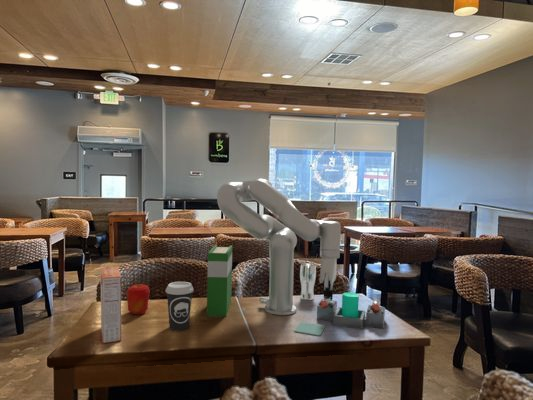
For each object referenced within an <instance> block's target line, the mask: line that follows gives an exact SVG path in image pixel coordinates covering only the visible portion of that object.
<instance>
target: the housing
mask: <svg viewBox="0 0 533 400" xmlns="http://www.w3.org/2000/svg"><path fill="white" fill-rule="evenodd" d="M323 299H324V298H321V299H320V301H319V302H318V304H317V306H316V320H321V321H322V320H323V321H328V322H333V326H339V327H345V328H350V329H357V330H363V327H368V328H375V329H376V328H377V329H382V330H383V329H384V325H385V315H386V311H385V310H386V307H385V306H380V310H379V312H377V313H374V312H373V311H372V310H371V306H372V304H368V306H367V309H366V310H364V309H363V310H362V309H358V318H354V317H347V316H342V306H341V307H340V306H338V300H335V299H334V300H333V299H332V301H330V302H329V304H328V306H327V308H326V309H322V308H321V307H320V305H319V304H320V302H321V301H322V300H323Z"/></svg>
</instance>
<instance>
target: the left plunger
mask: <svg viewBox="0 0 533 400" xmlns="http://www.w3.org/2000/svg"><path fill="white" fill-rule="evenodd" d="M322 299H323V300H322V301H321V300H320V301H321V302H320V301H319V302H320V304H319V303H318V304H319V305H320V307H321V308H322V309H326V308H327V306H328V304H329V302H330V301H331V298H330V297H329V296H325V297H324V296H323V298H322Z"/></svg>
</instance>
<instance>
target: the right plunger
mask: <svg viewBox="0 0 533 400" xmlns="http://www.w3.org/2000/svg"><path fill="white" fill-rule="evenodd" d="M380 305H381V300H380V299H378V298H375V299H373V301H372V304H371V310H372V311H373V312H374V313H377V312H379V310H380V307H381V306H380Z"/></svg>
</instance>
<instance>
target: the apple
mask: <svg viewBox="0 0 533 400" xmlns="http://www.w3.org/2000/svg"><path fill="white" fill-rule="evenodd" d="M150 292H151V291H150V288H149V285H146V284H143V283H140V282H138V283H137V284H132V285H131V286H130V287H128V288H127V290H126V300H127V311H128V312H129V313H130V314H132V315H135V316H137V315H138V316H139V315H143V314H145V313H146V312H147V310H148V309H149V298H150Z"/></svg>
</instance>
